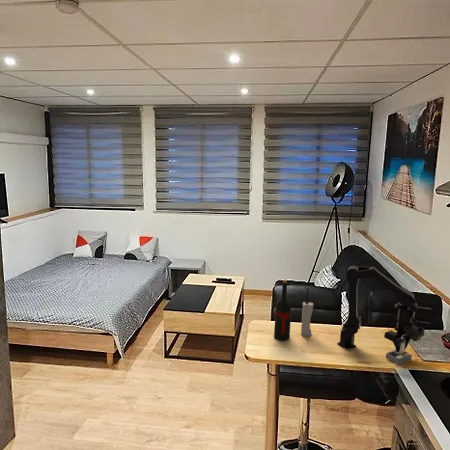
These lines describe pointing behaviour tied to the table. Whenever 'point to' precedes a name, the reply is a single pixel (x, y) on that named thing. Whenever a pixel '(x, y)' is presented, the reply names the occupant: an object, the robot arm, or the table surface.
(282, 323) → the wine bottle
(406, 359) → the grey compartment tray
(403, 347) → the plug
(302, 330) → the vintage mobile phone
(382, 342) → the table surface
